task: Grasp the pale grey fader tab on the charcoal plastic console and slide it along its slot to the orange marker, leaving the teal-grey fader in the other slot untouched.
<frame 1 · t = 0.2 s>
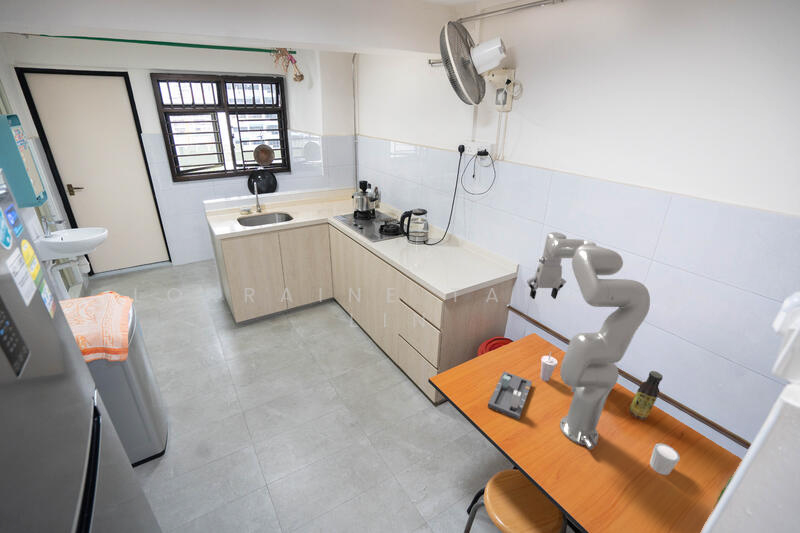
hand: (542, 297, 159), 31 cm above the table, fingers open, 9 cm apart
console: (510, 395, 146), on the table
fader teal: (505, 382, 147), point 4 cm above the table, slide at 2.0 cm
white short cylinder: (659, 467, 119), on the table
sauce bottle: (637, 415, 140), on the table
smoothie: (544, 378, 157), on the table
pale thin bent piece: (587, 388, 153), on the table
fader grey: (515, 400, 137), point 5 cm above the table, slide at -7.0 cm
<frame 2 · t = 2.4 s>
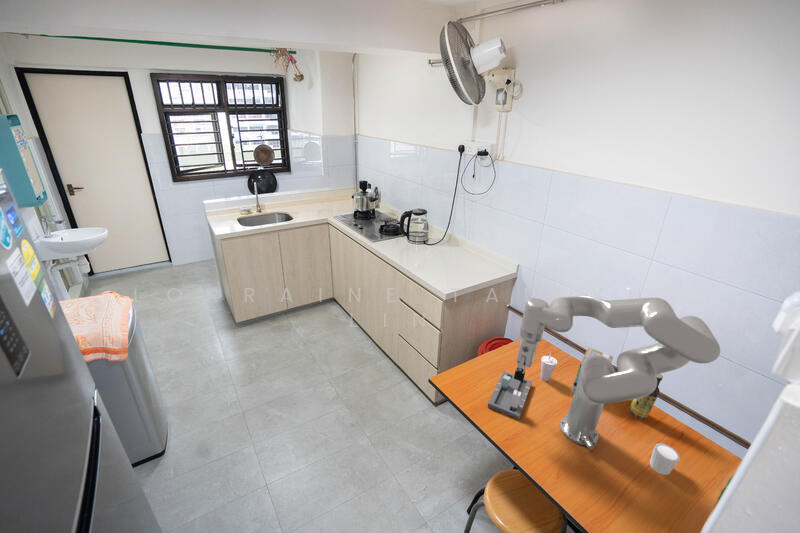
hand: (521, 372, 132), 18 cm above the table, fingers open, 9 cm apart
nothing on the table moved.
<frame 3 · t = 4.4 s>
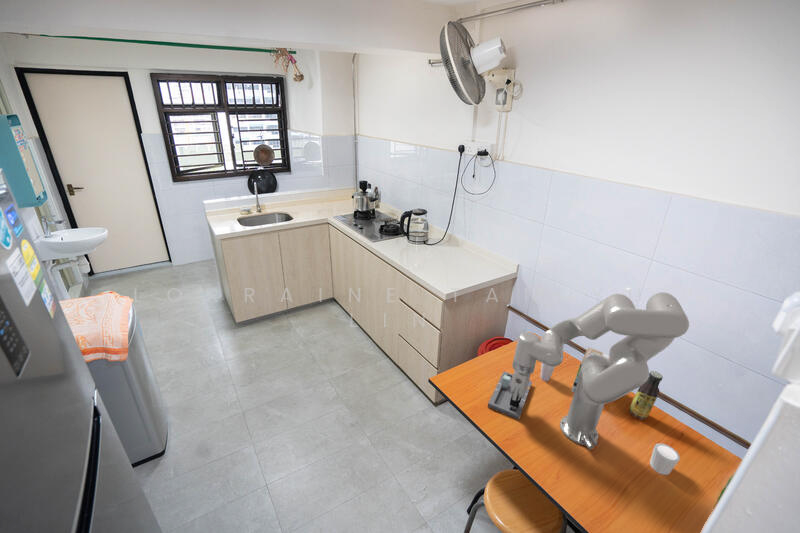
hand: (515, 403, 138), 3 cm above the table, fingers closed on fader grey, 2 cm apart
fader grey: (515, 400, 137), point 5 cm above the table, slide at -7.0 cm, touching gripper
everything else where it was.
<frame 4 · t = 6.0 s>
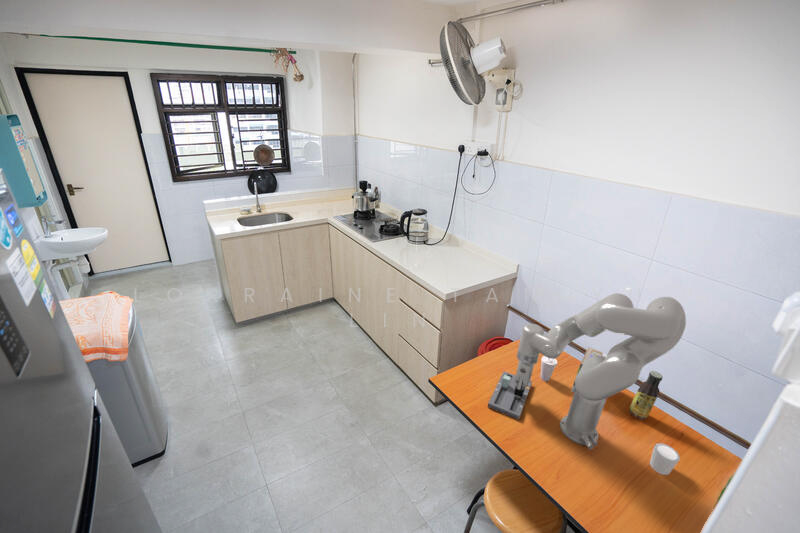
hand: (519, 392, 143), 3 cm above the table, fingers closed on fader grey, 2 cm apart
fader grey: (519, 389, 142), point 5 cm above the table, slide at -0.4 cm, touching gripper
everything else where it was.
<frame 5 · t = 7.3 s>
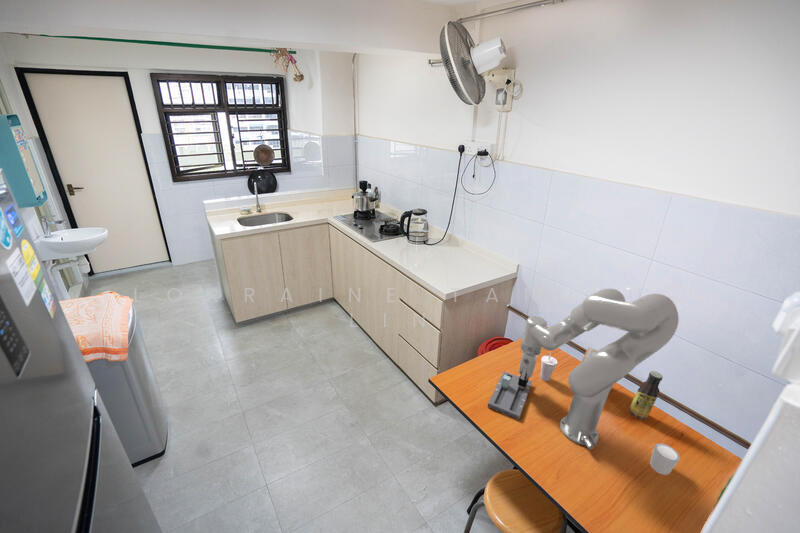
hand: (522, 383, 148), 3 cm above the table, fingers closed on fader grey, 2 cm apart
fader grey: (523, 380, 148), point 5 cm above the table, slide at 5.9 cm, touching gripper
everything else where it was.
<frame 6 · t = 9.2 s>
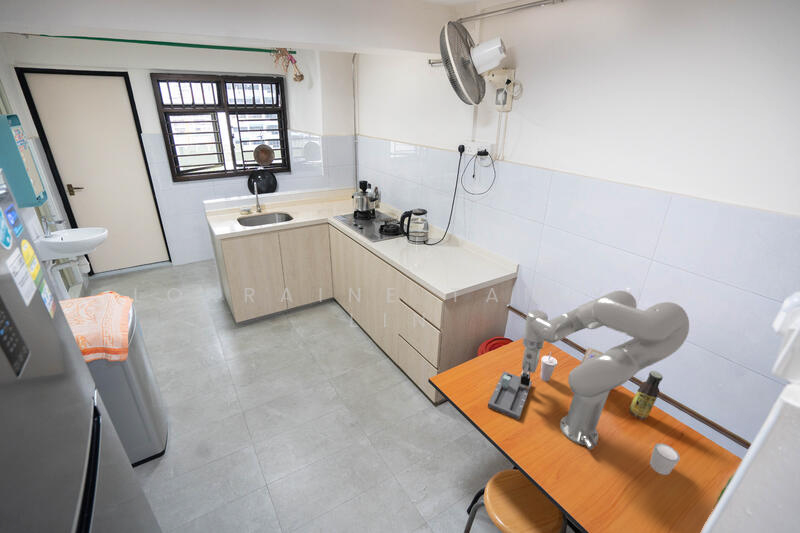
hand: (527, 377, 146), 7 cm above the table, fingers open, 9 cm apart
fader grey: (523, 380, 148), point 5 cm above the table, slide at 6.0 cm
everything else where it was.
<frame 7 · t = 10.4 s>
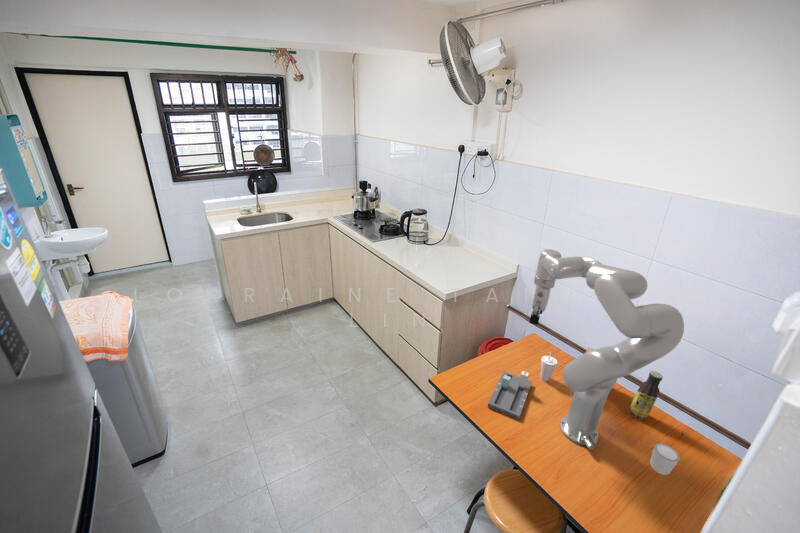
hand: (535, 318, 148), 28 cm above the table, fingers open, 9 cm apart
nothing on the table moved.
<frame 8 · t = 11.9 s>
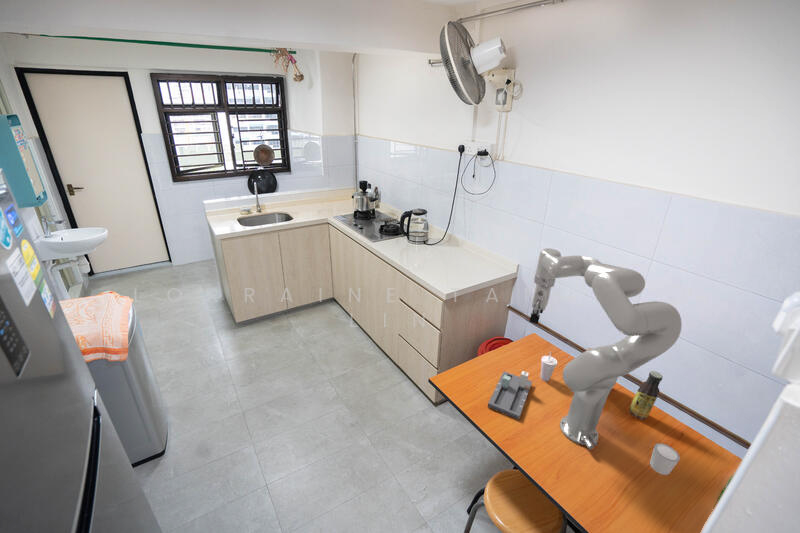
hand: (536, 317, 148), 28 cm above the table, fingers open, 9 cm apart
nothing on the table moved.
at the end: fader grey slide at 6.0 cm; the gripper is holding nothing; fader teal slide at 2.0 cm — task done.
